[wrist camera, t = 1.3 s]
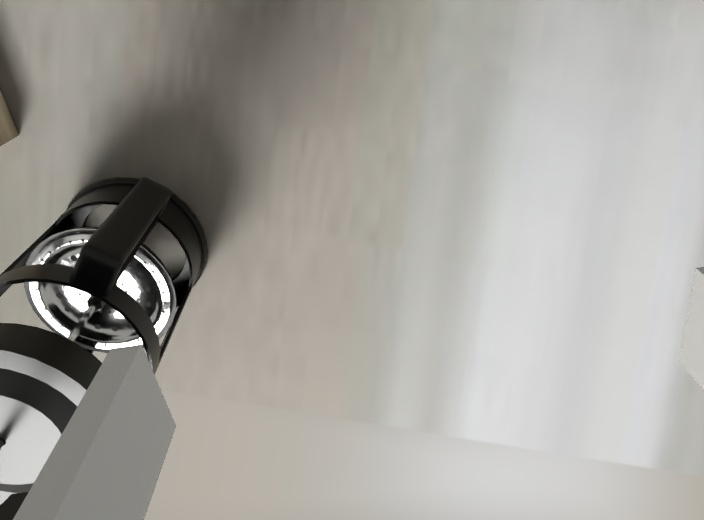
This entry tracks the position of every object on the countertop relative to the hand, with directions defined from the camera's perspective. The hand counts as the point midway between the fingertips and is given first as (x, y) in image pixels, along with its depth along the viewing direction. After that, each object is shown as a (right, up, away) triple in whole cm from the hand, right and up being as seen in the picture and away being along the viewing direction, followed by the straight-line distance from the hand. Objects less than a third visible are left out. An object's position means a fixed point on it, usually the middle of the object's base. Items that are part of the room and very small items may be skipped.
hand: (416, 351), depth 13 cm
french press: (-16, +4, +24) cm, 29 cm away
